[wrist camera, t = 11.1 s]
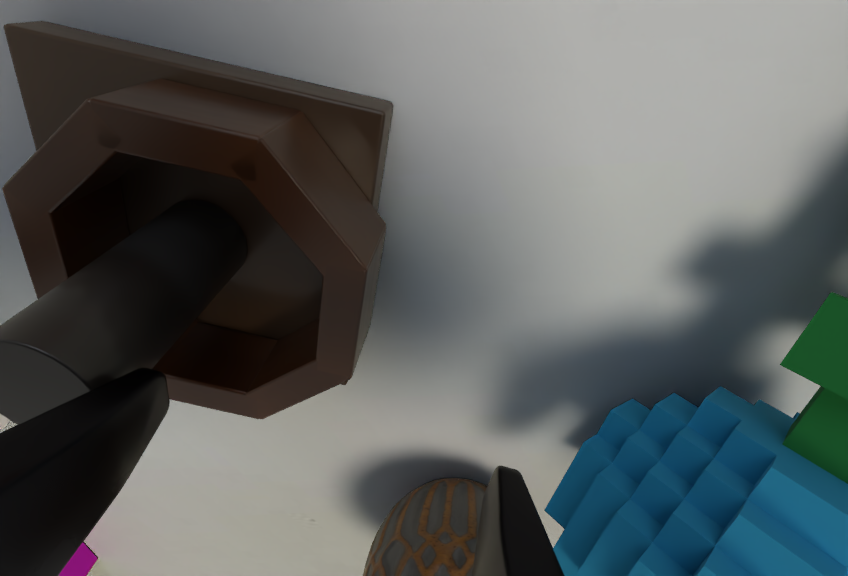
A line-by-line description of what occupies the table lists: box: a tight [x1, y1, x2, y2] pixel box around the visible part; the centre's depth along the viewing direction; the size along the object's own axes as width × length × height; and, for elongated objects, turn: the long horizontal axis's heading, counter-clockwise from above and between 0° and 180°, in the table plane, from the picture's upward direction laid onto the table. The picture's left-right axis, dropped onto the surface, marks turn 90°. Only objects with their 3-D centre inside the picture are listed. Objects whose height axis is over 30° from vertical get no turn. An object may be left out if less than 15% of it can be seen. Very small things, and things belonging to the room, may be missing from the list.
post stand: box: [0, 21, 393, 425], centre depth 11 cm, size 9×9×7 cm
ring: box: [2, 79, 386, 419], centre depth 12 cm, size 8×8×2 cm
